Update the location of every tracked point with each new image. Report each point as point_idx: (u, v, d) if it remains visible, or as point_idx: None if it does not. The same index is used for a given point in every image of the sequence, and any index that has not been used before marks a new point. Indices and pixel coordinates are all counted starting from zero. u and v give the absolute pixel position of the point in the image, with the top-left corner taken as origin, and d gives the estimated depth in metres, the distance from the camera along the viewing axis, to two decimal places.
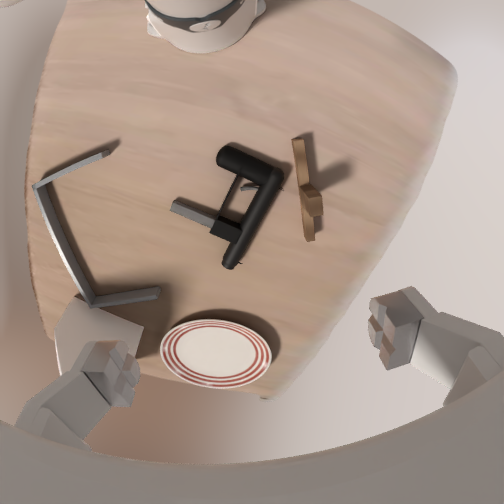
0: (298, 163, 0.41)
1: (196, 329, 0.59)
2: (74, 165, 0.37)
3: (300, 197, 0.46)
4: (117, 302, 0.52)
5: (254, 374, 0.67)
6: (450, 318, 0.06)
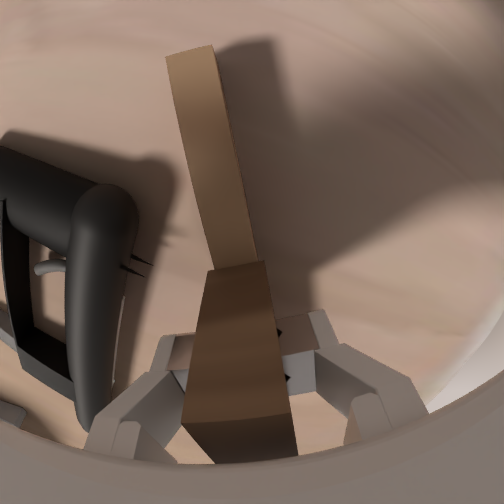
0: (191, 161, 0.08)
1: None
2: None
3: None
4: None
5: None
6: (350, 352, 0.06)
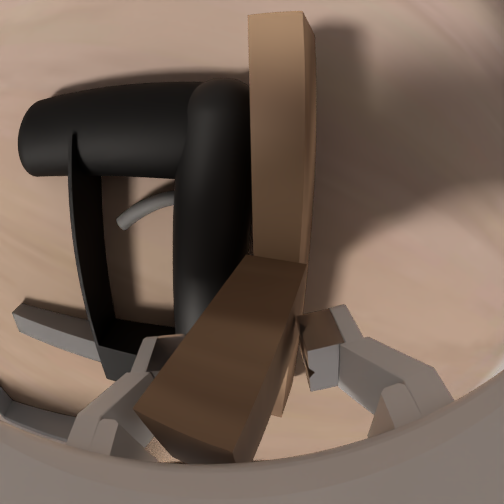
0: (255, 135, 0.07)
1: None
2: None
3: None
4: (37, 430, 0.17)
5: None
6: (375, 345, 0.06)
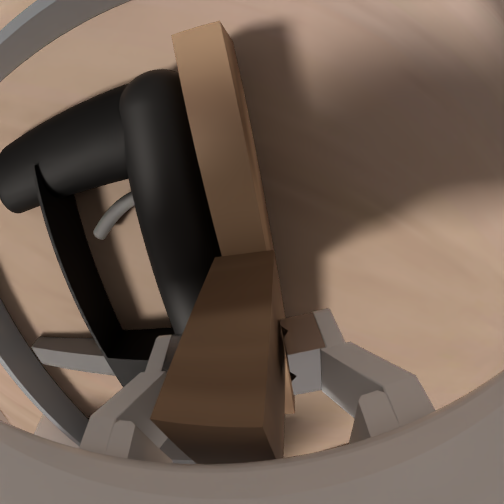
0: (198, 142, 0.07)
1: None
2: (16, 19, 0.04)
3: None
4: None
5: None
6: (356, 350, 0.06)
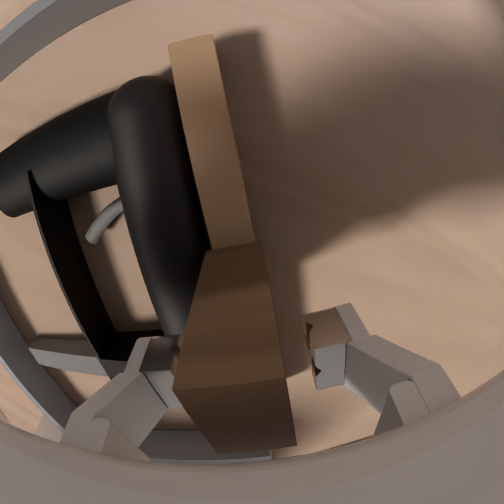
0: (190, 143, 0.08)
1: None
2: (16, 19, 0.04)
3: None
4: (152, 459, 0.16)
5: None
6: (382, 343, 0.06)
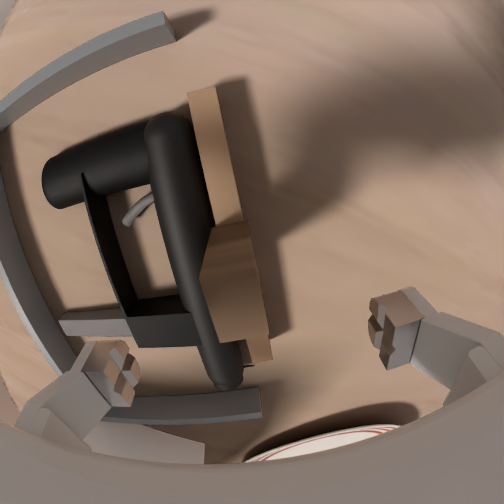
0: (203, 158, 0.13)
1: (309, 442, 0.27)
2: (67, 55, 0.09)
3: None
4: (159, 421, 0.21)
5: None
6: (450, 318, 0.06)
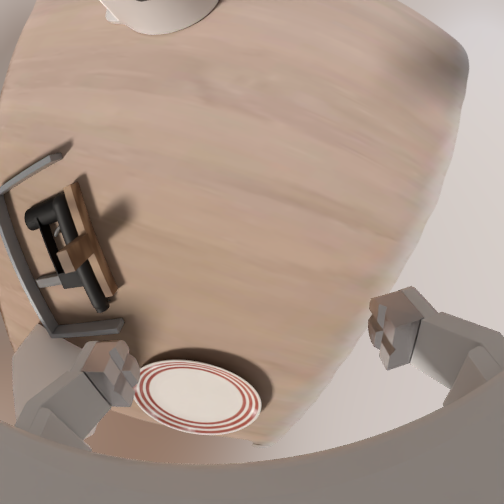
0: (71, 211, 0.32)
1: (169, 370, 0.46)
2: (24, 171, 0.28)
3: None
4: (77, 333, 0.40)
5: (242, 421, 0.52)
6: (450, 318, 0.06)
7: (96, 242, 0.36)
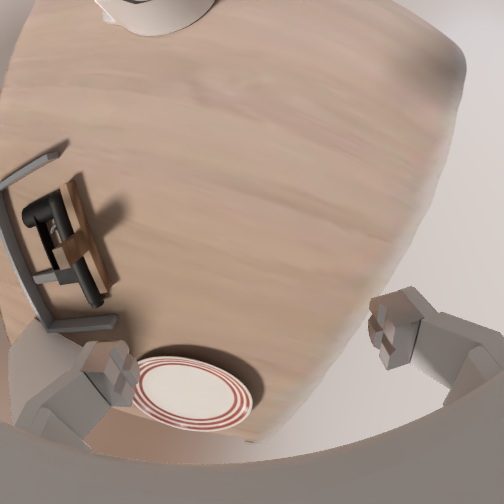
0: (67, 209, 0.33)
1: (162, 366, 0.47)
2: (22, 169, 0.28)
3: None
4: (72, 329, 0.40)
5: (234, 418, 0.53)
6: (450, 318, 0.06)
7: (91, 239, 0.36)
